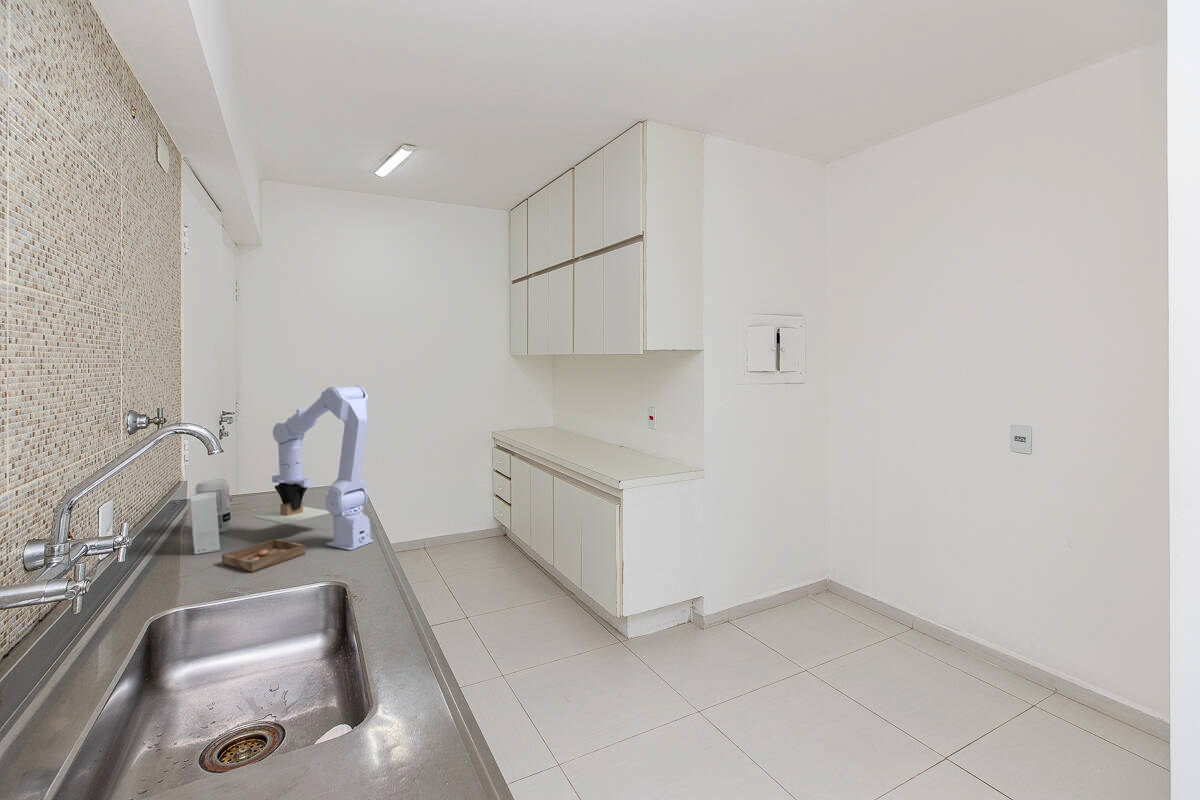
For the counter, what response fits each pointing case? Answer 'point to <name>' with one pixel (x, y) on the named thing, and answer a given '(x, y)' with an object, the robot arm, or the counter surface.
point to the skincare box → (204, 523)
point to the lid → (290, 514)
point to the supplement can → (218, 500)
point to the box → (263, 555)
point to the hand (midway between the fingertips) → (292, 508)
